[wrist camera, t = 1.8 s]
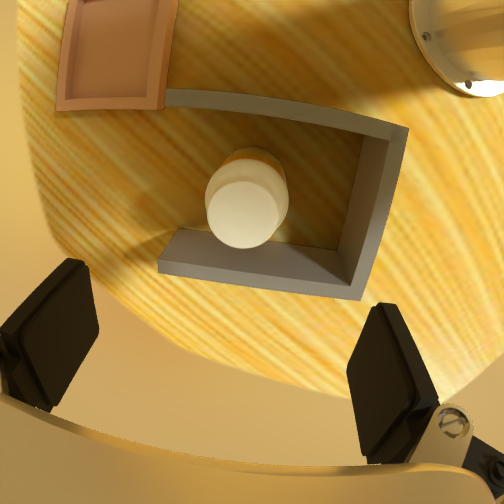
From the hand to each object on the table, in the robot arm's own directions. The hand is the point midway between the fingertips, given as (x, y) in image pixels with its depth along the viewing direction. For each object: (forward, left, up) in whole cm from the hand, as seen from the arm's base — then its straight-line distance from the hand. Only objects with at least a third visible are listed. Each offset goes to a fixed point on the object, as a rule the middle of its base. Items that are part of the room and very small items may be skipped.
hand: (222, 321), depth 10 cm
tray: (-11, -13, -18) cm, 25 cm away
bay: (0, +2, -18) cm, 18 cm away
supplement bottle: (0, 0, -18) cm, 19 cm away
